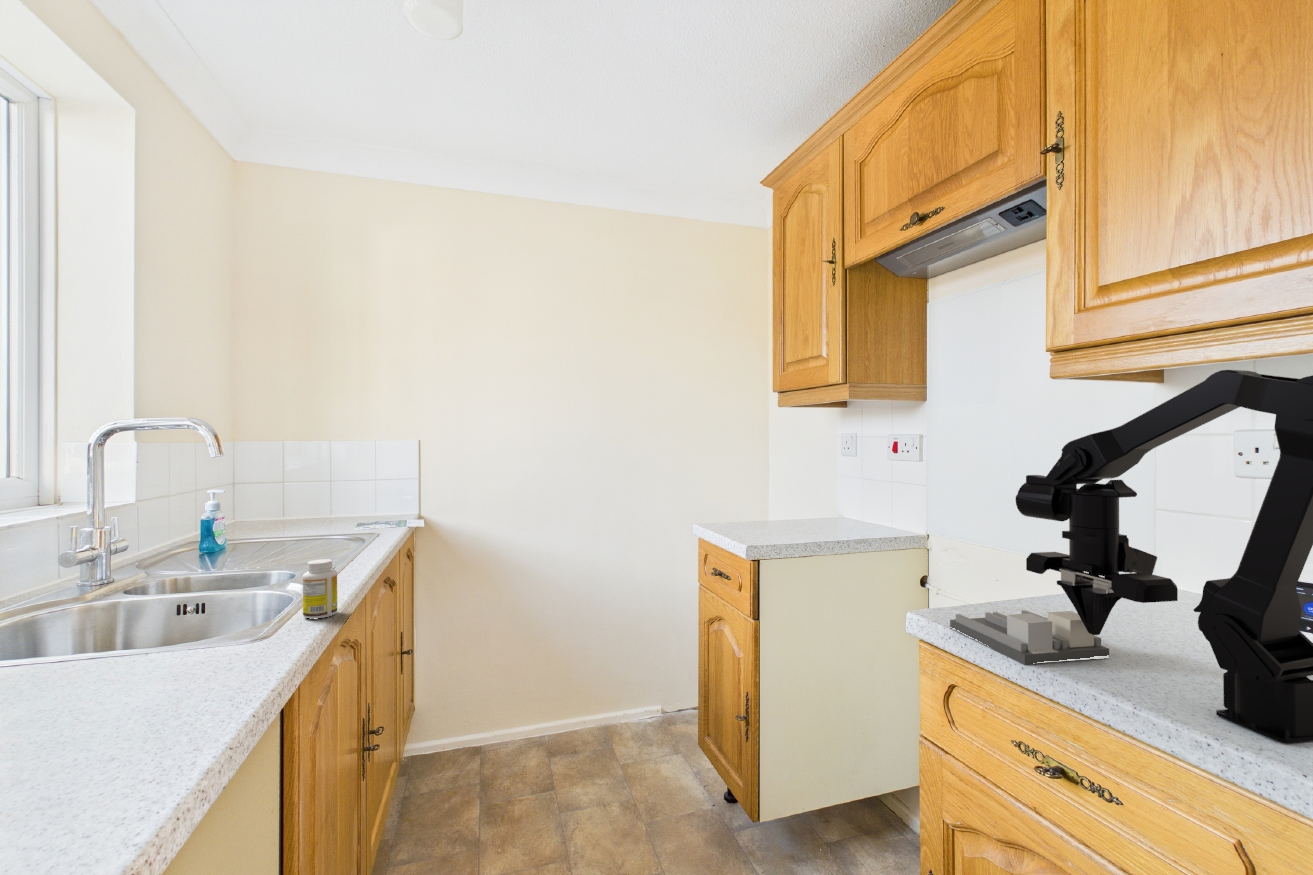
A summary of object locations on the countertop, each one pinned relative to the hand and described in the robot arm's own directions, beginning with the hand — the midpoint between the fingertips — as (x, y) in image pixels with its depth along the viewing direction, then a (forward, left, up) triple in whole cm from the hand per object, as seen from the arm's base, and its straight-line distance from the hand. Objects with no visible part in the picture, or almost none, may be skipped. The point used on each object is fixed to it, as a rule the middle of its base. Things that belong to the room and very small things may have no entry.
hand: (1094, 634), depth 82 cm
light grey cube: (+4, +7, -3) cm, 8 cm away
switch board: (+9, +3, -4) cm, 10 cm away
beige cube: (+4, 0, -3) cm, 5 cm away
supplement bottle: (+43, +121, -4) cm, 128 cm away
